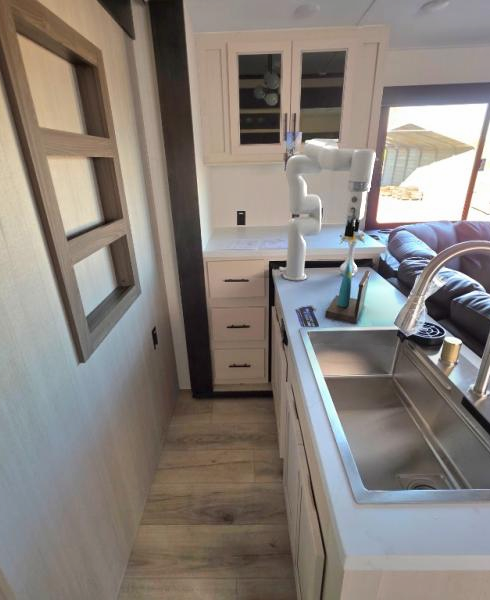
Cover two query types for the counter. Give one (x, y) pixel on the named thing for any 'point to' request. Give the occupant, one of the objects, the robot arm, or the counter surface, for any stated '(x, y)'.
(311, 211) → the robot arm
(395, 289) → the counter surface
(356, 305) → the dark wooden bookend
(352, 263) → the flower vase
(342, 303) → the tube
